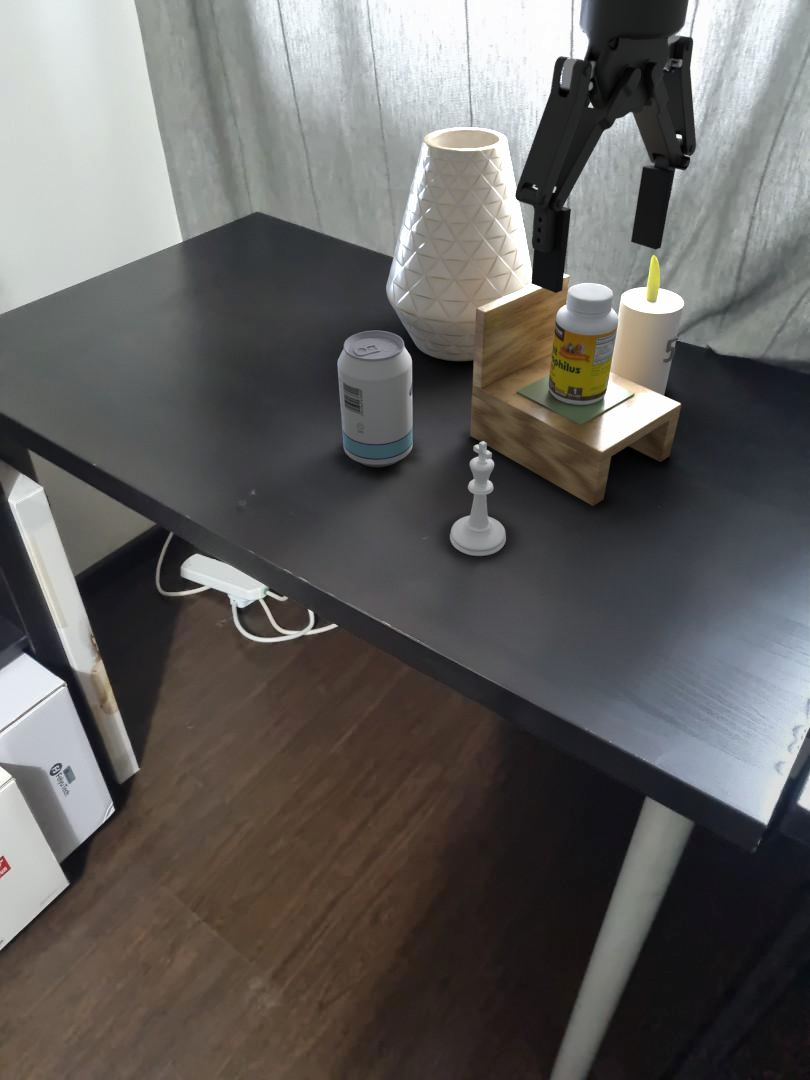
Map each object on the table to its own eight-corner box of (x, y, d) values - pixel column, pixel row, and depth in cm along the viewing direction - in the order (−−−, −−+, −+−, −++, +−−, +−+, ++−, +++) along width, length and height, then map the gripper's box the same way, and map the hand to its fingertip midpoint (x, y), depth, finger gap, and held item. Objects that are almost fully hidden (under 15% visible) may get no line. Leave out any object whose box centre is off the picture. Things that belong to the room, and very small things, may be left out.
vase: (478, 298, 110) (486, 109, 95) (559, 351, 99) (583, 145, 84) (363, 329, 104) (352, 132, 89) (435, 390, 92) (437, 174, 77)
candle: (643, 411, 88) (670, 276, 79) (594, 389, 92) (615, 256, 82) (677, 391, 91) (708, 258, 82) (629, 370, 95) (652, 240, 85)
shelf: (669, 455, 82) (700, 324, 73) (592, 506, 76) (615, 370, 67) (547, 395, 91) (560, 272, 82) (470, 435, 85) (475, 308, 76)
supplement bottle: (535, 388, 80) (545, 287, 74) (580, 373, 82) (593, 273, 76) (573, 414, 77) (587, 310, 70) (618, 397, 79) (636, 295, 72)
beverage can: (423, 463, 82) (423, 353, 74) (357, 480, 80) (350, 368, 72) (398, 428, 86) (395, 322, 79) (335, 443, 85) (326, 335, 77)
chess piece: (478, 513, 76) (484, 419, 69) (517, 539, 73) (526, 444, 66) (438, 535, 73) (439, 441, 67) (476, 564, 70) (482, 468, 64)
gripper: (693, -50, 66) (648, 219, 80) (474, -20, 54) (465, 293, 67) (780, -44, 62) (717, 239, 75) (564, -11, 49) (535, 322, 63)
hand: (598, 265), depth 71 cm, fingers open, 13 cm apart
